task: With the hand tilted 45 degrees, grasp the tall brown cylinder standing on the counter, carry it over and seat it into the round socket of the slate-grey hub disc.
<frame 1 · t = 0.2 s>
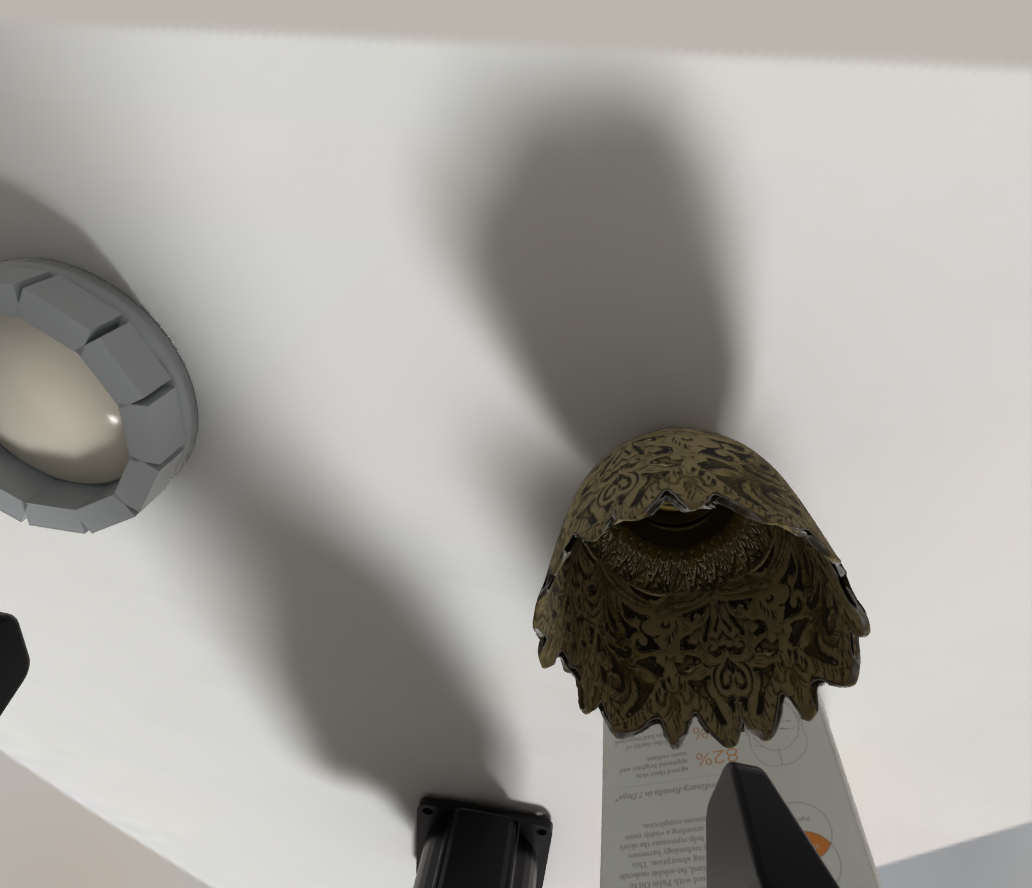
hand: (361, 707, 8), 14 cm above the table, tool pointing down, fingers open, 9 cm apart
ornate scalloped vase: (671, 465, 23), on the table
hub: (75, 385, 24), on the table
small box: (717, 707, 28), on the table
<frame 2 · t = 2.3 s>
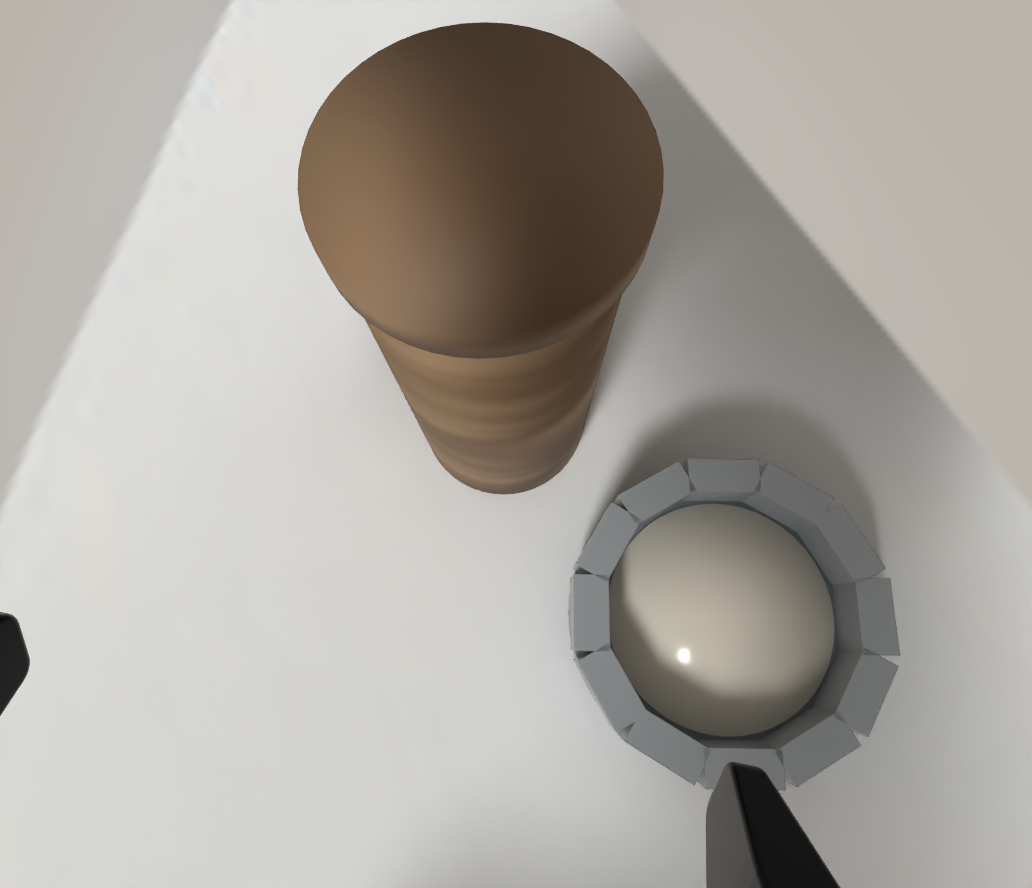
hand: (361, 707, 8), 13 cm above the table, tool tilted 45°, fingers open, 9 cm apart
brown cylinder: (504, 416, 23), on the table
hub: (710, 615, 22), on the table
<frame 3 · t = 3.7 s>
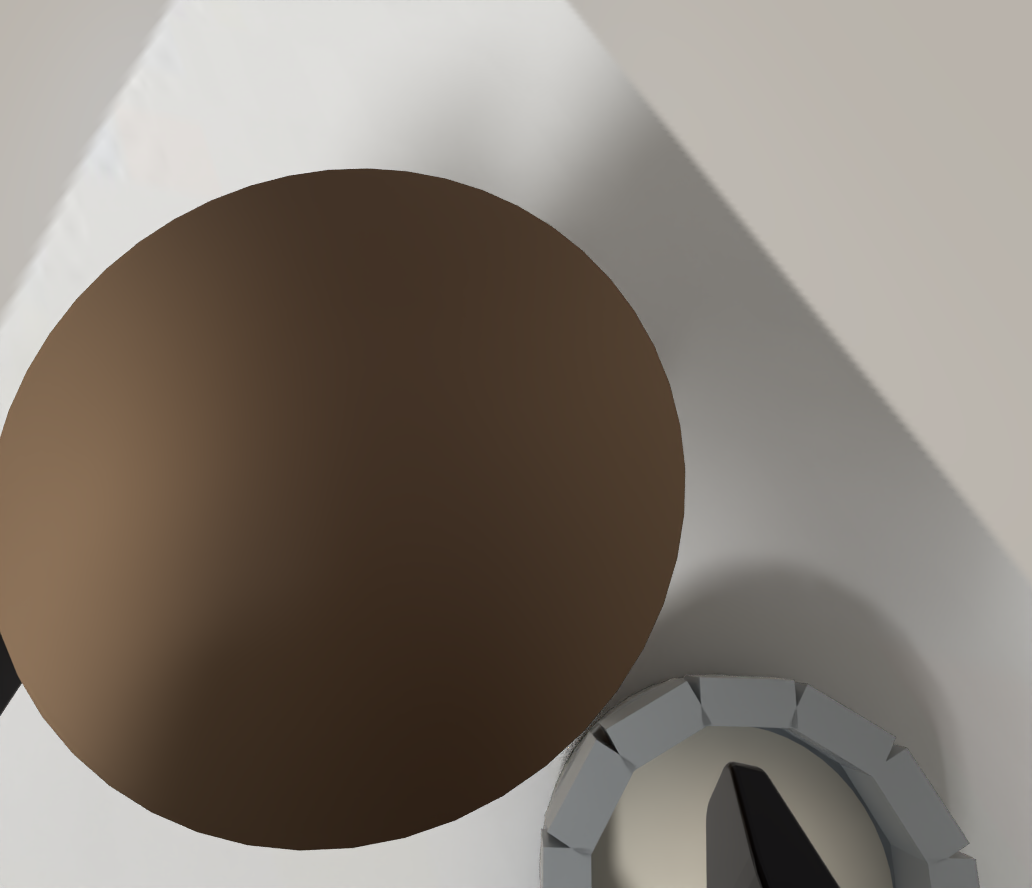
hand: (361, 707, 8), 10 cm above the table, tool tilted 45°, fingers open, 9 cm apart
brown cylinder: (461, 587, 18), on the table
hub: (726, 872, 16), on the table
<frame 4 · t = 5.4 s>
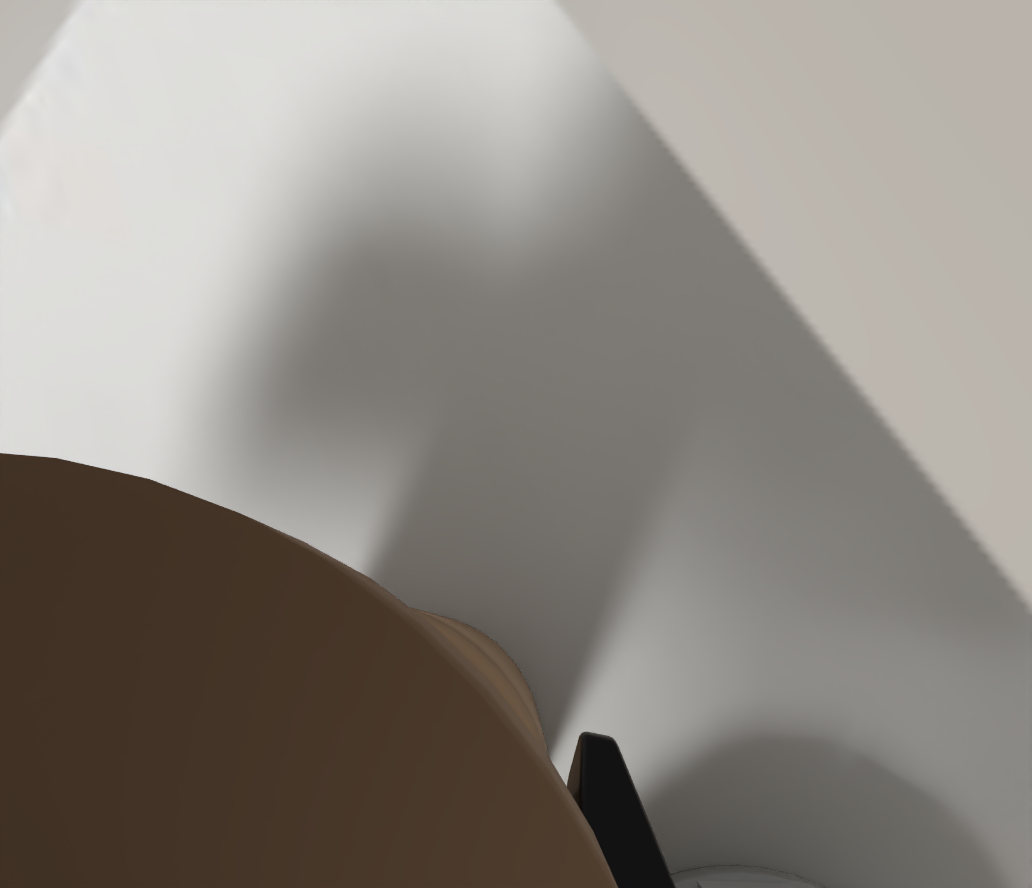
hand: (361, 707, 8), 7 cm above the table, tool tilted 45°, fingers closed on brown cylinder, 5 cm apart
brown cylinder: (414, 746, 14), on the table, touching gripper
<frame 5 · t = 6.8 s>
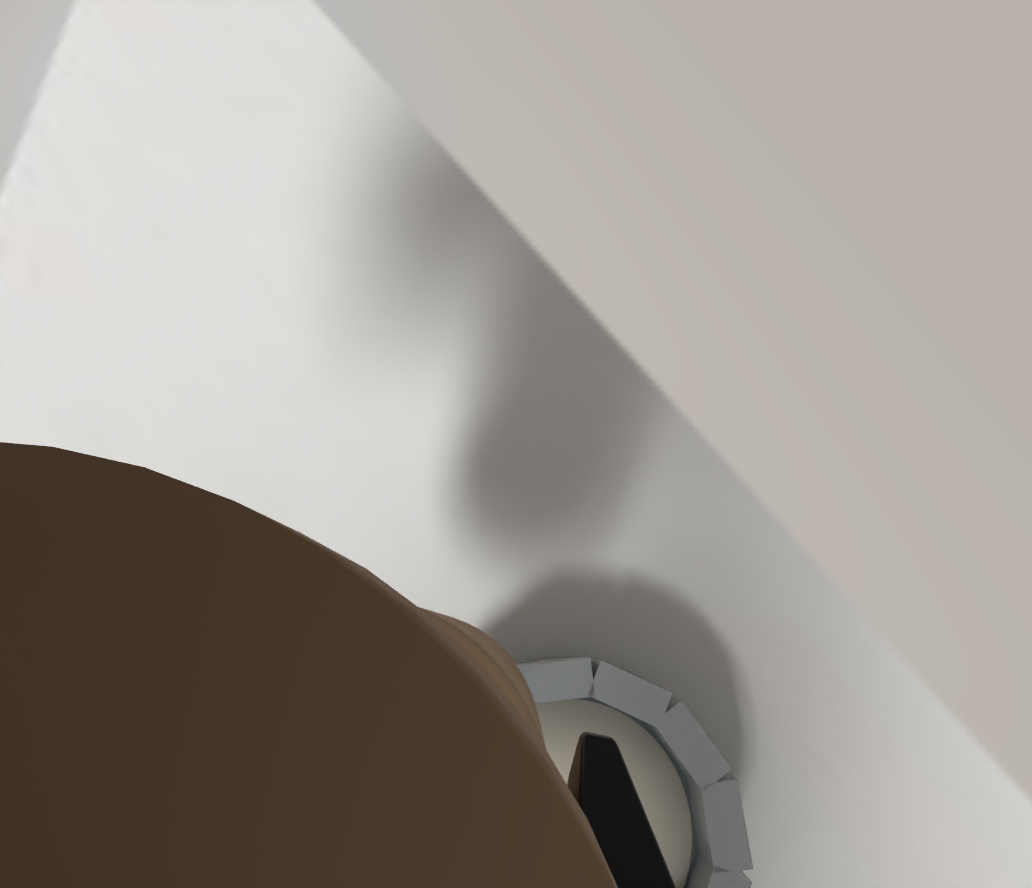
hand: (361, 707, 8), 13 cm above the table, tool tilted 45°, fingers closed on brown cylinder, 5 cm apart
brown cylinder: (413, 743, 14), point 7 cm above the table, touching gripper
hub: (567, 817, 20), on the table
when the fingers open (9 cm above the table, at t = 8.6 s): brown cylinder drops 1 cm, resting on hub.
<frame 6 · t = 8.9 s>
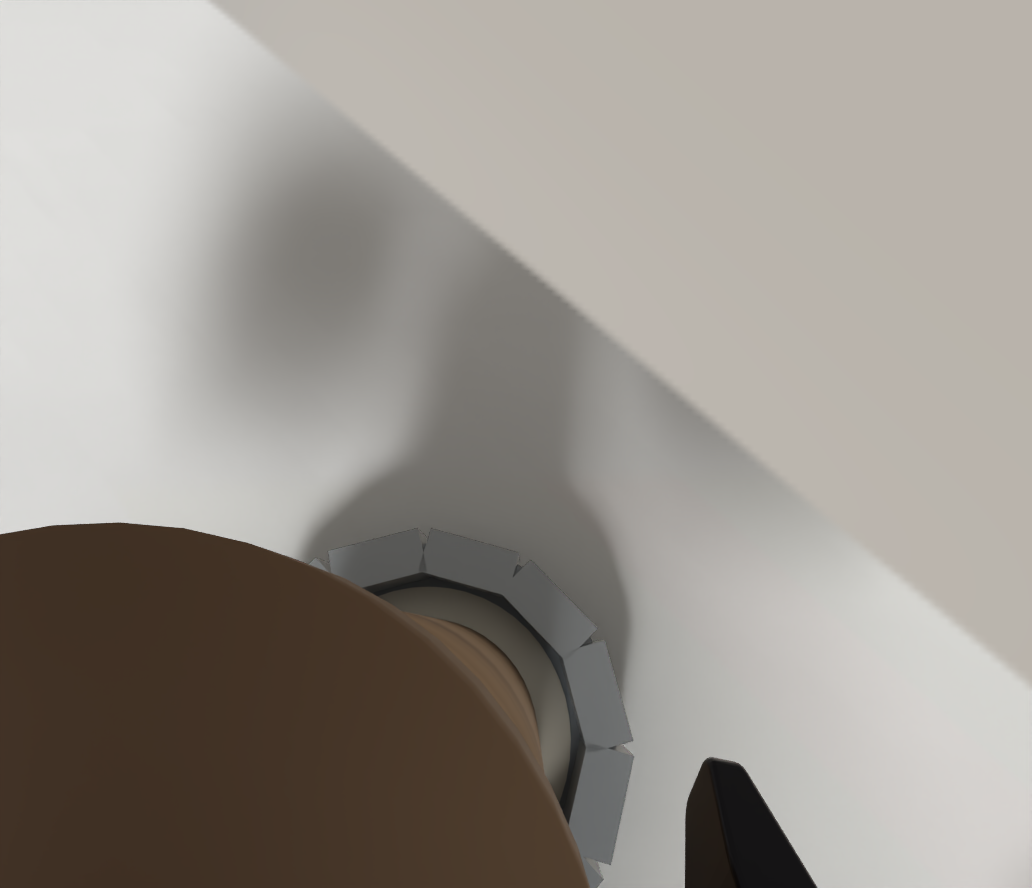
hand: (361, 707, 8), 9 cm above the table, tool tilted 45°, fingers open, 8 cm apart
brown cylinder: (420, 739, 16), point 1 cm above the table, touching hub
hub: (429, 730, 17), on the table
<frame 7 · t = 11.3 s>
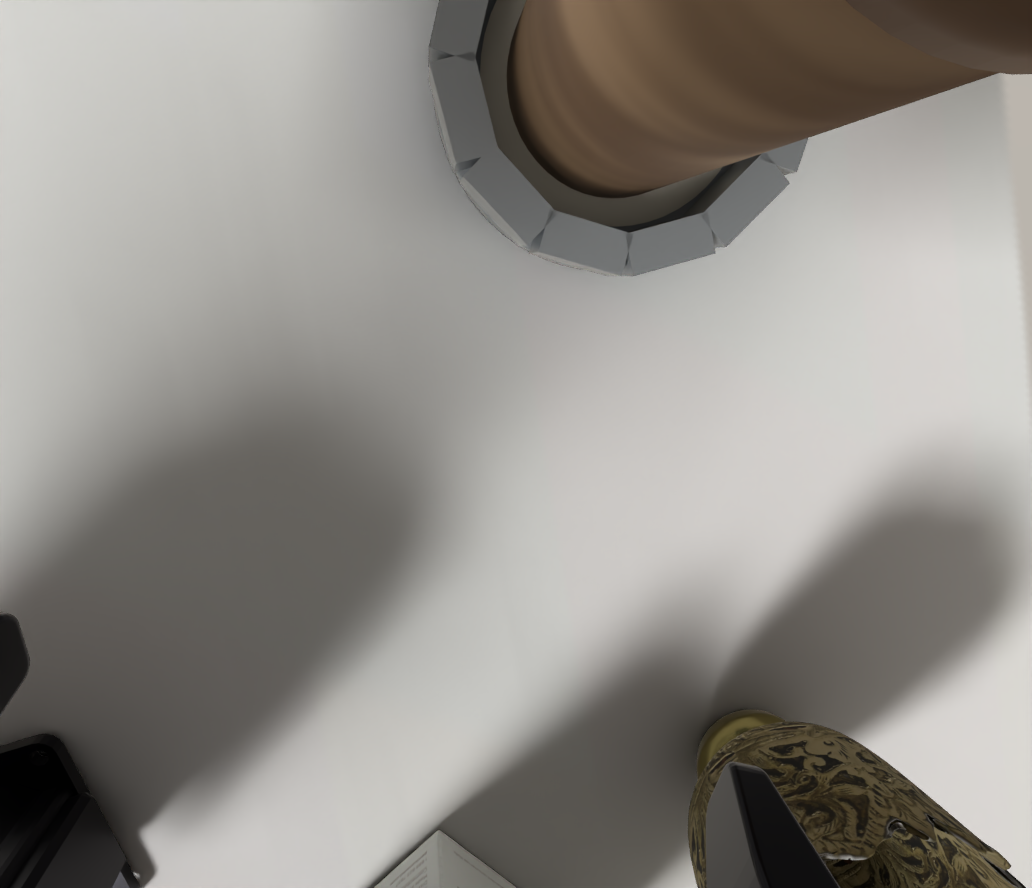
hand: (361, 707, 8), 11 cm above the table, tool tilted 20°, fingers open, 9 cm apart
brown cylinder: (616, 81, 17), point 1 cm above the table, touching hub
ornate scalloped vase: (737, 742, 24), on the table
hub: (607, 91, 18), on the table
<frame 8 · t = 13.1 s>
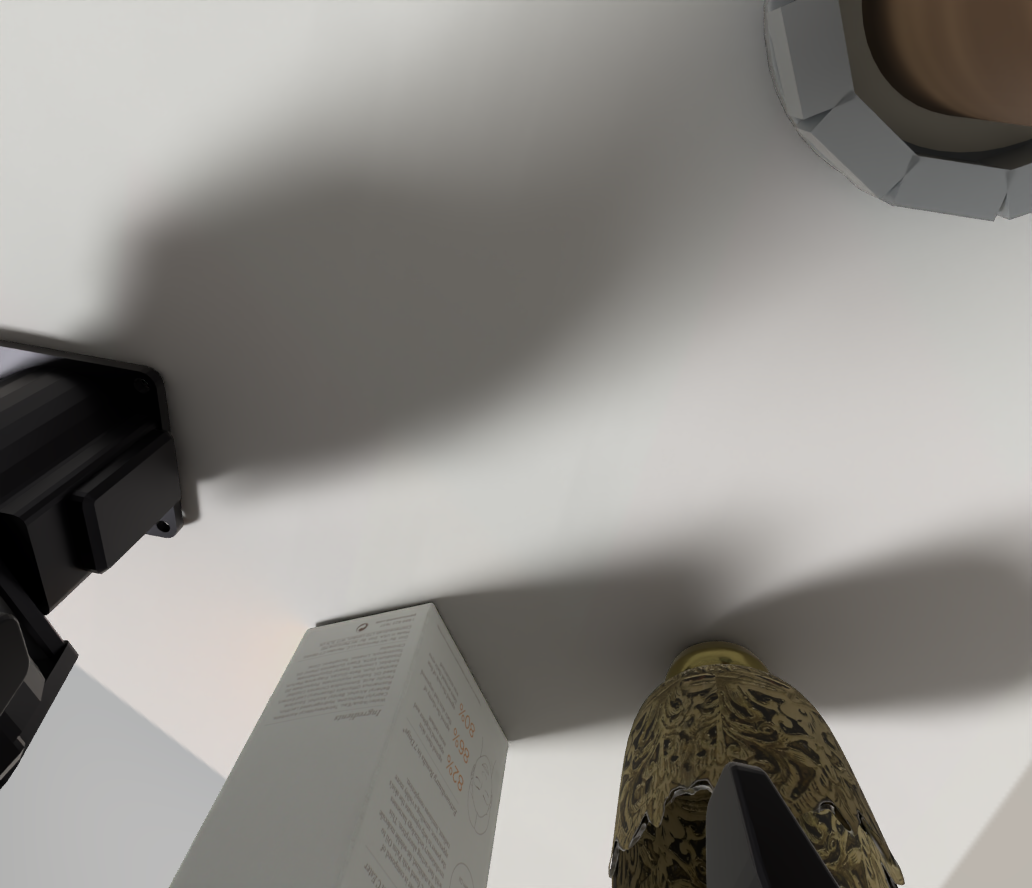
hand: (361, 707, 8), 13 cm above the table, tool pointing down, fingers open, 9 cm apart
ornate scalloped vase: (714, 665, 25), on the table
small box: (414, 681, 27), on the table
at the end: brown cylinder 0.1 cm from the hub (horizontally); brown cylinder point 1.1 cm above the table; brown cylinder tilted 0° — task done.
